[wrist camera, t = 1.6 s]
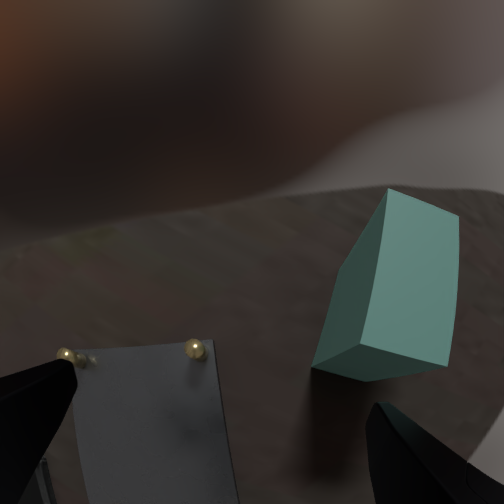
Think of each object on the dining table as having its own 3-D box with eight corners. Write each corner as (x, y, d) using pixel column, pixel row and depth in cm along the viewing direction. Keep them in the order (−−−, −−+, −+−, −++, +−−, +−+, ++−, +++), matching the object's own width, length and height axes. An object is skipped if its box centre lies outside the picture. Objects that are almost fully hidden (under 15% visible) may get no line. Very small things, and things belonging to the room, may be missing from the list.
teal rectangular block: (365, 381, 21) (447, 366, 11) (311, 366, 22) (359, 343, 12) (387, 286, 24) (458, 216, 14) (338, 270, 25) (388, 188, 15)
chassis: (244, 527, 16) (243, 546, 13) (100, 522, 15) (81, 535, 12) (214, 341, 22) (207, 332, 19) (75, 351, 22) (52, 344, 18)
